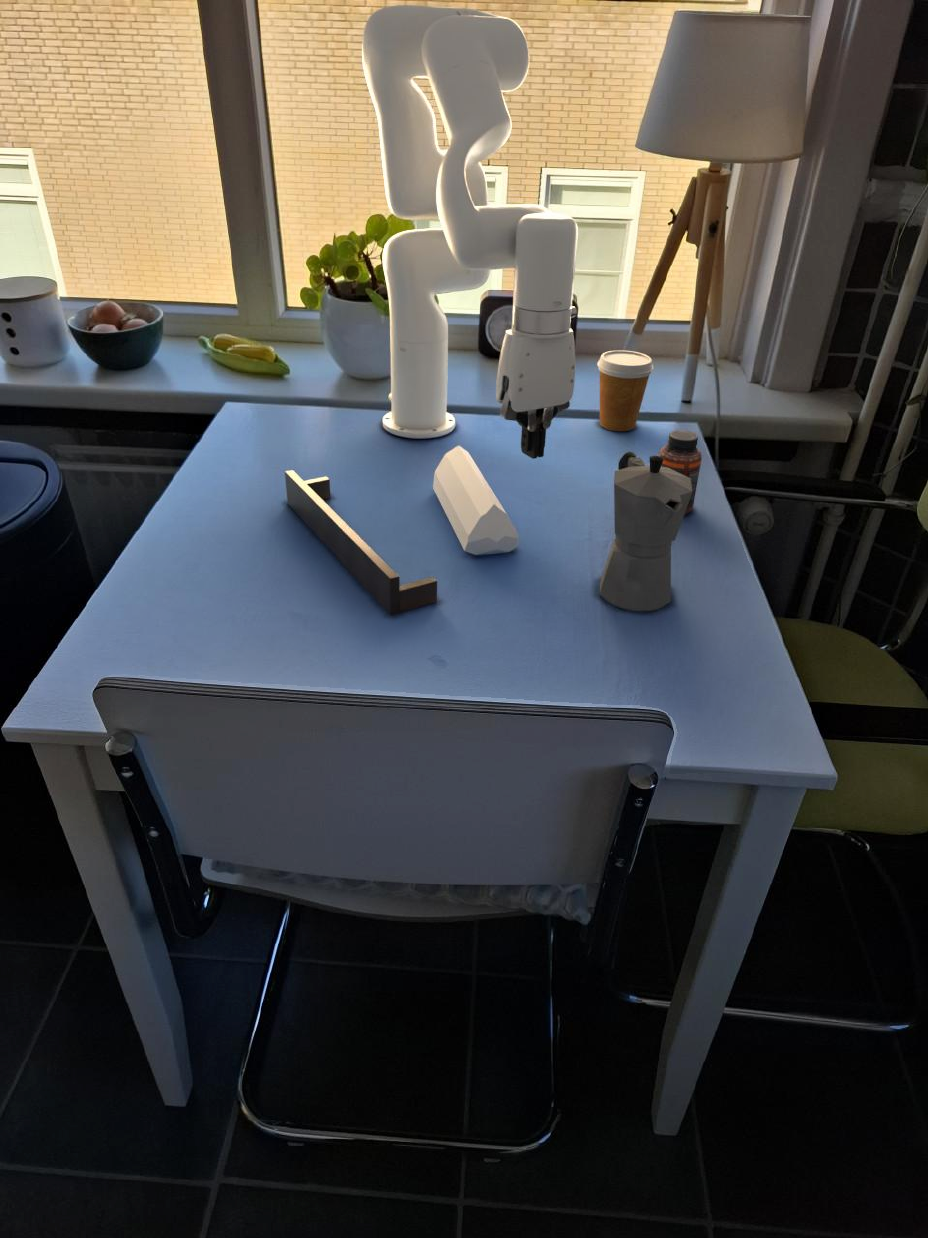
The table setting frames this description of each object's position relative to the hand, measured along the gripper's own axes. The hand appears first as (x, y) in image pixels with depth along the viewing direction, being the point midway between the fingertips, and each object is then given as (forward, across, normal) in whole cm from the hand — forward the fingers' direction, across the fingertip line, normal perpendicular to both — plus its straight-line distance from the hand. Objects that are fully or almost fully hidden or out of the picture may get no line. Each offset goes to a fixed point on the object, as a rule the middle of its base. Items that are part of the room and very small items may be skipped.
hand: (532, 454), depth 122 cm
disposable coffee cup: (+8, -33, -21) cm, 40 cm away
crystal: (+8, +9, -1) cm, 12 cm away
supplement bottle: (+9, -19, +9) cm, 23 cm away
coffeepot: (+9, +1, +24) cm, 26 cm away
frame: (+8, +27, -1) cm, 28 cm away
